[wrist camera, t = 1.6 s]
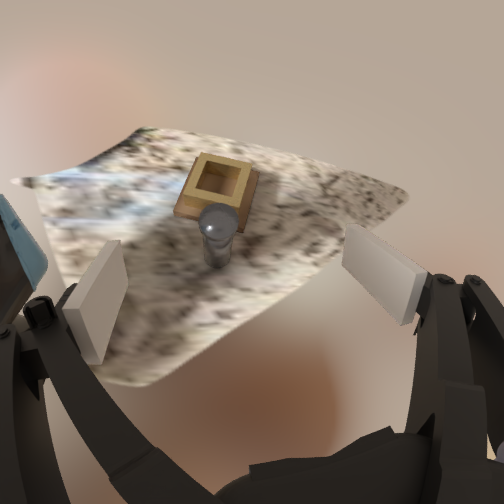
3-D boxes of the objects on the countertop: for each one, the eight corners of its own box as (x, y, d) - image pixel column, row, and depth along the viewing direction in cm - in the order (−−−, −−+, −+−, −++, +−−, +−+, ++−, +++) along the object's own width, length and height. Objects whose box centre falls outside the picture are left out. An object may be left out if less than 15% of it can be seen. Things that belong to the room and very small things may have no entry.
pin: (198, 265, 44) (193, 232, 33) (206, 238, 45) (205, 198, 34) (228, 273, 44) (233, 242, 33) (235, 246, 46) (243, 208, 35)
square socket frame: (184, 205, 45) (182, 193, 42) (201, 164, 49) (201, 152, 46) (237, 218, 46) (239, 207, 43) (249, 176, 49) (252, 164, 46)
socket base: (174, 215, 46) (173, 210, 45) (196, 162, 51) (196, 157, 49) (243, 232, 47) (244, 228, 45) (258, 176, 51) (259, 172, 50)
